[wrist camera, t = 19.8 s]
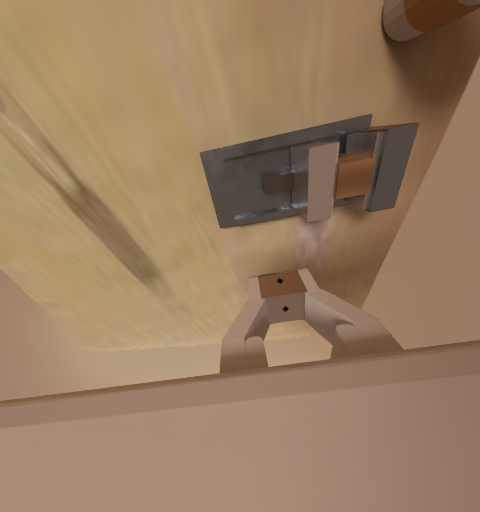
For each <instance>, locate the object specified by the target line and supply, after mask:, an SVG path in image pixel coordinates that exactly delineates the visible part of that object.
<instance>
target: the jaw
mask: <svg viewBox="0 0 480 512" xmlns="http://www.w3.org/2000/svg"><path fill="white" fill-rule="evenodd" d="M339 143H340V142H310V143H305V144H301V145H296V146H292V147H290V154H291V170H290V171H285V172H281V173H276V174H271V175H266V176H262V185H263V193H264V194H265V196H266V195H271V194H275V193H280V192H285V191H290V190H292V206H293V207H294V208H295V210H296V211H297V212H298V213H299V214H300V215H301V216H302V217H303V218H304V219H305V220H306V222H307V223H308V222H313V221H318V220H324V219H329V218H330V217H331V215H332V212H333V202H334V192H335V183H336V173H337V163H338V153H339Z"/></svg>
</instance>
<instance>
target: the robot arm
mask: <svg viewBox="0 0 480 512" xmlns="http://www.w3.org/2000/svg"><path fill="white" fill-rule="evenodd" d="M248 285H249V294H250V301H247V303H246V304H245V306H244V307H243V309H242V310H241V312H240V313H239V315H238V316H237V318H236V319H235V321H234V322H233V324H232V326H231V327H230V329H229V330H228V332H227V333H226V335H225V336H224V338H223V339H222V346H221V361H220V373H219V374H211V375H204V376H195V377H188V378H180V379H172V380H164V381H156V382H148V383H141V384H133V385H125V386H117V387H109V388H101V389H93V390H85V391H77V392H69V393H61V394H53V395H46V396H38V397H30V398H22V399H13V400H5V401H0V512H480V340H477V341H469V342H461V343H453V344H445V345H438V346H430V347H422V348H414V349H406V350H404V349H403V348H402V347H401V346H400V345H399V343H398V342H397V341H396V340H395V339H394V337H393V336H392V335H391V334H390V332H389V331H388V330H387V329H386V327H385V326H384V325H383V324H382V323H381V321H380V320H379V319H378V318H376V317H374V316H372V315H371V314H369V313H367V312H365V311H363V310H361V309H359V308H358V307H356V306H354V305H352V304H350V303H348V302H346V301H344V300H343V299H341V298H339V297H337V296H335V295H333V294H331V293H330V292H328V291H326V290H324V289H322V290H320V288H319V287H318V285H317V283H316V282H315V280H314V278H313V277H312V275H311V273H310V272H309V270H308V268H301V269H296V270H291V271H285V272H280V273H273V274H266V275H259V276H253V277H248ZM302 319H304V320H305V321H306V322H307V323H308V324H309V325H310V326H312V327H313V328H314V329H315V330H316V331H317V332H318V333H319V334H321V335H322V336H323V337H324V338H325V339H326V340H327V341H328V342H330V343H331V344H332V345H333V347H332V353H331V358H330V359H329V360H320V361H312V362H304V363H297V364H289V365H281V366H274V367H268V363H267V358H266V353H265V348H264V343H263V341H264V339H265V336H266V334H267V331H268V328H269V326H270V324H274V323H279V322H285V321H293V320H302Z"/></svg>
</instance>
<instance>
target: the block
mask: <svg viewBox="0 0 480 512" xmlns="http://www.w3.org/2000/svg"><path fill="white" fill-rule="evenodd" d="M375 160H376V157H371V156H362V155H353V154H343V153H341V154H338V163H337V173H336V183H335V192H334V199H342V198H347V197H352V196H357V195H362V194H367V193H369V189H370V185H371V180H372V175H373V170H374V165H375Z"/></svg>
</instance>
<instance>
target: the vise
mask: <svg viewBox="0 0 480 512" xmlns="http://www.w3.org/2000/svg"><path fill="white" fill-rule="evenodd" d="M371 119H372V114H369V115H364V116H359V117H355V118H351V119H346V120H342V121H337V122H333V123H328V124H324V125H320V126H315V127H311V128H306V129H302V130H298V131H293V132H289V133H284V134H280V135H275V136H271V137H267V138H262V139H258V140H253V141H249V142H244V143H240V144H236V145H231V146H227V147H222V148H218V149H213V150H209V151H205V152H201V153H200V156H201V160H202V164H203V167H204V171H205V175H206V178H207V182H208V186H209V189H210V193H211V197H212V200H213V204H214V208H215V211H216V215H217V218H218V222H219V226H220V228H224V227H229V226H235V225H236V226H241V225H246V224H251V223H257V222H262V221H267V220H272V219H278V218H283V217H288V216H293V215H299V213H298V212H297V211H296V210H295V208H294V207H293V206H292V190H290V191H285V192H280V193H275V194H271V195H266V196H265V194H264V193H263V185H262V176H266V175H271V174H276V173H281V172H285V171H290V170H291V154H290V147H292V146H296V145H301V144H305V143H310V142H340V143H339V153H338V154H341V153H343V154H353V155H362V156H371V157H376V160H375V165H374V170H373V175H372V180H371V185H370V189H369V193H367V194H362V195H357V196H352V197H347V198H342V199H334V202H333V207H334V206H339V205H344V204H350V203H351V204H352V205H354V206H356V207H358V208H360V209H362V210H367V211H369V212H374V211H380V210H385V209H390V208H394V206H395V203H396V200H397V196H398V193H399V189H400V186H401V183H402V179H403V176H404V173H405V169H406V166H407V162H408V159H409V156H410V152H411V149H412V146H413V142H414V139H415V135H416V132H417V129H418V125H419V122H417V123H407V124H398V125H388V126H378V127H370V125H371Z"/></svg>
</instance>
